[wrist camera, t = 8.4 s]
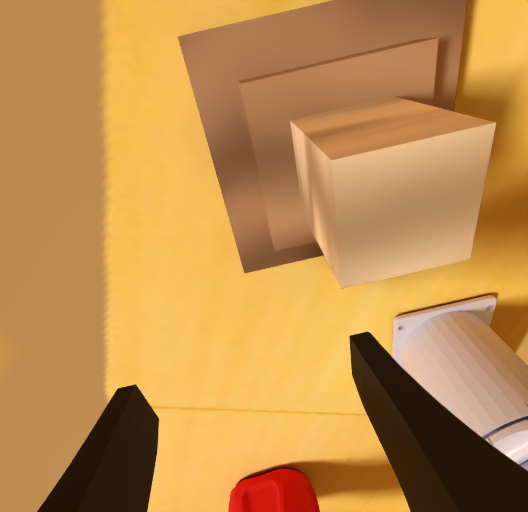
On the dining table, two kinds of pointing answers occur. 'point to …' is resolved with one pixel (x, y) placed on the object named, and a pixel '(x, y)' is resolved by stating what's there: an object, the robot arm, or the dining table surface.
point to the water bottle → (274, 493)
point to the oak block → (391, 186)
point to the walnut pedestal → (307, 98)
